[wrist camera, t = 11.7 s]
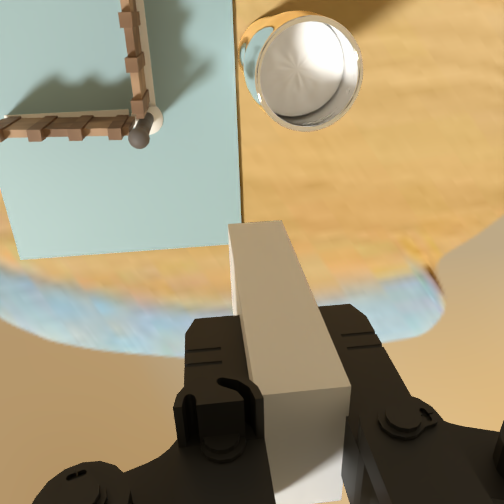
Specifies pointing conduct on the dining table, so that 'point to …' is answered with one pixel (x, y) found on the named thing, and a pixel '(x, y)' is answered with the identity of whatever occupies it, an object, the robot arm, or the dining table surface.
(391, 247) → the dining table surface
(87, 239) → the board
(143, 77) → the fence fixed
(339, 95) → the beer glass
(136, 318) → the dining table surface
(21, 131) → the fence panel
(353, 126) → the dining table surface
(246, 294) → the robot arm
